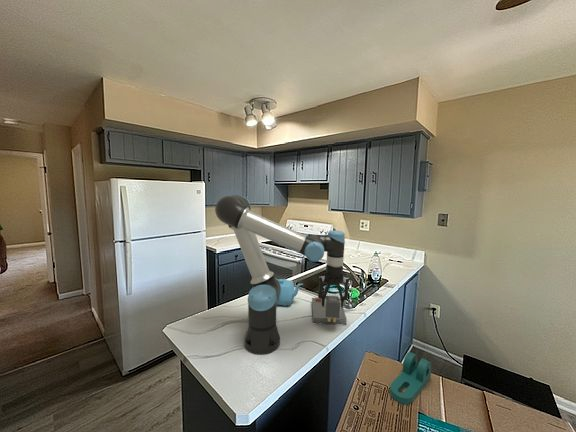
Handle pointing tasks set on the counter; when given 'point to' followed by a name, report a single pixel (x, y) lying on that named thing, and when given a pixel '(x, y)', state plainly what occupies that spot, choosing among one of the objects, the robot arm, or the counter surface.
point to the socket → (321, 317)
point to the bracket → (411, 379)
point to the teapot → (287, 292)
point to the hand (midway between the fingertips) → (331, 312)
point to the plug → (332, 307)
